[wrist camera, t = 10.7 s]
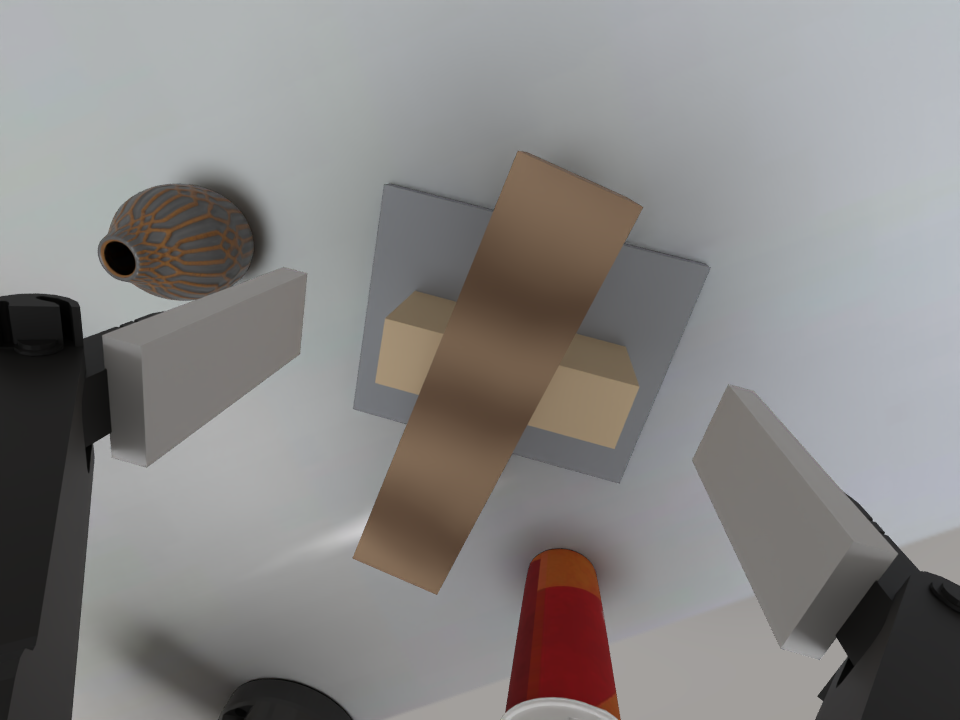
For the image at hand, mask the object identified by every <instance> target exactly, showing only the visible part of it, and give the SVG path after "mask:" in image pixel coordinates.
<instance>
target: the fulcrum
mask: <svg viewBox="0 0 960 720" xmlns="http://www.w3.org/2000/svg"><path fill="white" fill-rule="evenodd" d="M493 211H494V210H491V209H487V208H483V207H479V206H476V205H472V204H468V203H464V202H460V201H456V200H452V199H448V198H444V197H440V196H436V195H432V194H428V193H425V192H421V191H417V190H413V189H409V188H405V187H401V186H397V185H393V184H384V189H383V196H382V203H381V211H380V218H379V225H378V232H377V240H376V247H375V254H374V261H373V269H372V276H371V283H370V290H369V298H368V305H367V312H366V319H365V327H364V334H363V341H362V348H361V356H360V363H359V370H358V377H357V385H356V392H355V399H354V406H353V409H355V410H358V411H362V412H365V413H369V414H372V415H376V416H380V417H383V418H387V419H390V420H394V421H397V422H401V423H405V424H407V423H408V420H409V418H410V415H411V413H412V410H413V408H414V406H415V403H416V401H417V398H418V396H419V393H420V391H421V388H422V386H423V383H424V381H425V378H426V376H427V373H428V371H429V369H430V366H431V364H432V361H433V359H434V356H435V354H436V351H437V349H438V346H439V344H440V341H441V339H442V337H443V334H444V332H445V329H446V327H447V324H448V322H449V319H450V317H451V314H452V312H453V309H454V307H455V304H456V302H457V300H458V297H459V295H460V292H461V290H462V287H463V285H464V282H465V280H466V277H467V275H468V272H469V270H470V268H471V265H472V263H473V260H474V258H475V255H476V253H477V250H478V248H479V245H480V243H481V240H482V238H483V235H484V233H485V231H486V228H487V226H488V223H489V221H490V218H491V216H492V213H493ZM709 271H710V267H709V266H708V265H706V264H703V263H699V262H695V261H691V260H687V259H683V258H680V257H676V256H672V255H668V254H664V253H660V252H656V251H652V250H648V249H644V248H640V247H636V246H632V245H629V244H625V243H624V244H623V246H622V248H621V250H620V252H619V254H618V256H617V257H616V259H615V261H614V263H613V265H612V267H611V269H610V271H609V272H608V274H607V276H606V278H605V280H604V282H603V284H602V286H601V287H600V289H599V291H598V293H597V295H596V297H595V299H594V301H593V303H592V304H591V306H590V308H589V310H588V312H587V314H586V316H585V318H584V319H583V321H582V323H581V325H580V327H579V329H578V331H577V333H576V334H575V336H574V338H573V340H572V342H571V344H570V346H569V348H568V349H567V351H566V353H565V355H564V357H563V359H562V361H561V363H560V365H559V366H558V368H557V370H556V372H555V374H554V376H553V378H552V380H551V381H550V383H549V385H548V387H547V389H546V391H545V393H544V395H543V396H542V398H541V400H540V402H539V404H538V406H537V408H536V410H535V411H534V413H533V415H532V417H531V419H530V421H529V423H528V425H527V427H526V428H525V430H524V432H523V434H522V436H521V438H520V440H519V442H518V443H517V445H516V447H515V449H514V451H513V453H512V454H515V455H519V456H522V457H526V458H530V459H533V460H537V461H540V462H544V463H547V464H551V465H555V466H558V467H562V468H565V469H569V470H573V471H576V472H580V473H583V474H587V475H590V476H594V477H598V478H601V479H605V480H608V481H612V482H615V483H620V481H621V479H622V476H623V474H624V472H625V469H626V467H627V465H628V462H629V460H630V457H631V455H632V453H633V450H634V448H635V446H636V443H637V441H638V438H639V436H640V434H641V431H642V429H643V427H644V424H645V422H646V420H647V417H648V415H649V412H650V410H651V408H652V405H653V403H654V401H655V398H656V396H657V394H658V391H659V389H660V386H661V384H662V382H663V379H664V377H665V375H666V372H667V370H668V368H669V365H670V363H671V360H672V358H673V356H674V353H675V351H676V349H677V346H678V344H679V342H680V339H681V337H682V334H683V332H684V330H685V327H686V325H687V323H688V320H689V318H690V315H691V313H692V311H693V308H694V306H695V304H696V301H697V299H698V297H699V294H700V292H701V289H702V287H703V285H704V282H705V280H706V278H707V275H708V273H709Z"/></svg>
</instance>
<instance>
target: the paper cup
mask: <svg viewBox="0 0 960 720" xmlns="http://www.w3.org/2000/svg"><path fill="white" fill-rule="evenodd" d="M501 720H621V719H620V714H619V707H618V701H617V694H616V688H615V682H614V676H613V670H612V663H611V658H610V651H609V645H608V638H607V632H606V626H605V620H604V614H603V608H602V602H601V596H600V591H599V585H598V580H597V576H596V572H595V569H594V567H593V565H592V564H591V562H590V561H589V560H588V559H587V558H586V557H584V556H583V555H581V554H579V553H577V552H575V551H572V550H568V549H551V550H547V551H544V552H542V553H540V554H538V555H537V556H536V557H535V558H534V559H533V560H532V562H531V563H530V566H529V569H528V573H527V578H526V583H525V589H524V595H523V601H522V608H521V614H520V620H519V627H518V633H517V640H516V646H515V653H514V659H513V666H512V672H511V679H510V685H509V692H508V698H507V705H506V711H505V714H504V715H503V716H502V718H501Z"/></svg>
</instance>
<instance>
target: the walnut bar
mask: <svg viewBox="0 0 960 720" xmlns="http://www.w3.org/2000/svg"><path fill="white" fill-rule="evenodd" d="M642 209H643V207H642V206H640V205H639V204H637V203H635V202H634V201H632V200H630V199H629V198H627V197H625V196H623V195H621V194H618V193H616V192H614V191H612V190H609V189H607V188H605V187H603V186H601V185H598V184H596V183H594V182H592V181H590V180H587V179H585V178H583V177H581V176H578V175H576V174H574V173H572V172H570V171H567V170H565V169H563V168H561V167H559V166H556V165H554V164H552V163H550V162H547V161H545V160H543V159H541V158H539V157H536V156H534V155H532V154H530V153H527V152H523V151H518V152H517V154H516V157H515V159H514V162H513V164H512V166H511V169H510V171H509V174H508V176H507V179H506V181H505V184H504V186H503V189H502V191H501V194H500V196H499V199H498V201H497V203H496V206H495V208H494V211H493V213H492V216H491V218H490V221H489V223H488V226H487V228H486V231H485V233H484V235H483V238H482V240H481V243H480V245H479V248H478V250H477V253H476V255H475V258H474V260H473V263H472V265H471V268H470V270H469V272H468V275H467V277H466V280H465V282H464V285H463V287H462V290H461V292H460V295H459V297H458V300H457V302H456V304H455V307H454V309H453V312H452V314H451V317H450V319H449V322H448V324H447V327H446V329H445V332H444V334H443V337H442V339H441V341H440V344H439V346H438V349H437V351H436V354H435V356H434V359H433V361H432V364H431V366H430V369H429V371H428V373H427V376H426V378H425V381H424V383H423V386H422V388H421V391H420V393H419V396H418V398H417V401H416V403H415V406H414V408H413V410H412V413H411V415H410V418H409V420H408V423H407V425H406V428H405V430H404V433H403V435H402V438H401V440H400V442H399V445H398V447H397V450H396V452H395V455H394V457H393V460H392V462H391V465H390V467H389V470H388V472H387V475H386V477H385V479H384V482H383V484H382V487H381V489H380V492H379V494H378V497H377V499H376V502H375V504H374V507H373V509H372V511H371V514H370V516H369V519H368V521H367V524H366V526H365V529H364V531H363V534H362V536H361V539H360V541H359V544H358V546H357V548H356V551H355V553H354V556H353V559H355V560H358V561H360V562H362V563H365V564H367V565H369V566H372V567H374V568H376V569H378V570H381V571H383V572H385V573H388V574H390V575H392V576H395V577H397V578H399V579H402V580H404V581H406V582H408V583H411V584H413V585H415V586H418V587H420V588H422V589H425V590H427V591H429V592H432V593H434V594H436V595H437V594H438V592H439V590H440V588H441V586H442V584H443V582H444V581H445V579H446V577H447V575H448V573H449V571H450V569H451V567H452V566H453V564H454V562H455V560H456V558H457V556H458V554H459V552H460V551H461V549H462V547H463V545H464V543H465V541H466V539H467V537H468V535H469V534H470V532H471V530H472V528H473V526H474V524H475V522H476V520H477V519H478V517H479V515H480V513H481V511H482V509H483V507H484V505H485V504H486V502H487V500H488V498H489V496H490V494H491V492H492V490H493V489H494V487H495V485H496V483H497V481H498V479H499V477H500V475H501V473H502V472H503V470H504V468H505V466H506V464H507V462H508V460H509V458H510V457H511V455H512V453H513V451H514V449H515V447H516V445H517V443H518V442H519V440H520V438H521V436H522V434H523V432H524V430H525V428H526V427H527V425H528V423H529V421H530V419H531V417H532V415H533V413H534V411H535V410H536V408H537V406H538V404H539V402H540V400H541V398H542V396H543V395H544V393H545V391H546V389H547V387H548V385H549V383H550V381H551V380H552V378H553V376H554V374H555V372H556V370H557V368H558V366H559V365H560V363H561V361H562V359H563V357H564V355H565V353H566V351H567V349H568V348H569V346H570V344H571V342H572V340H573V338H574V336H575V334H576V333H577V331H578V329H579V327H580V325H581V323H582V321H583V319H584V318H585V316H586V314H587V312H588V310H589V308H590V306H591V304H592V303H593V301H594V299H595V297H596V295H597V293H598V291H599V289H600V287H601V286H602V284H603V282H604V280H605V278H606V276H607V274H608V272H609V271H610V269H611V267H612V265H613V263H614V261H615V259H616V257H617V256H618V254H619V252H620V250H621V248H622V246H623V244H624V242H625V241H626V239H627V237H628V235H629V233H630V231H631V229H632V227H633V225H634V224H635V222H636V220H637V218H638V216H639V214H640V212H641V210H642Z"/></svg>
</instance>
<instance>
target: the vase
mask: <svg viewBox="0 0 960 720" xmlns="http://www.w3.org/2000/svg"><path fill="white" fill-rule="evenodd" d="M253 250H254V243H253V236H252V232H251V229H250V227H249V224H248V222H247V220H246V219H245V217H244V215H243V214H242V213H241V211H240V210H239V209H238V208H237V207H236V206H235V205H234V204H233V203H232V202H231V201H229V200H228V199H226V198H225V197H223V196H222V195H220V194H218V193H216V192H214V191H211V190H209V189H206V188H203V187H199V186H195V185H190V184H166V185H159V186H155V187H151V188H148V189H146V190H144V191H141V192H139V193H138V194H136V195H134V196H132V197H131V198H130V199H128V200H127V201H126V202H125V203H124V204H123V205H122V206H121V207H120V208H119V209H118V211H117V212H116V214H115V215H114V217H113V220H112V222H111V225H110V228H109V232H108V234H107V235H106V236H105V237H104V238H103V239H102V240H101V241H100V243H99V246H98V257H99V260H100V262H101V264H102V266H103V268H104V269H105V270H106V271H107V272H108V273H109V274H110V275H111V276H112V277H114V278H116V279H118V280H121V281H125V282H130V283H132V284H134V285H135V286H137V287H138V288H140V289H142V290H144V291H146V292H148V293H150V294H152V295H155V296H158V297H161V298H165V299H170V300H183V301H189V300H197V299H200V298H203V297H205V296H208V295H211V294H213V293H216V292H219V291H221V290H224V289H227V288H229V287H232V286H233V285H234V284H235V283H236V282H238V281H239V280H240V279H241V277H242V276H243V275H244V274H245V272H246V271H247V269H248V267H249V265H250V263H251V260H252V257H253Z"/></svg>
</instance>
